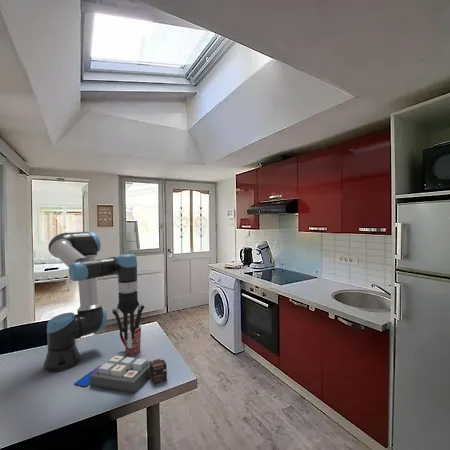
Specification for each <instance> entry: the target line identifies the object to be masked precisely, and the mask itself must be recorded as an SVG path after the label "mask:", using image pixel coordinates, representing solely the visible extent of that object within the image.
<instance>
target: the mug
mask: <svg viewBox="0 0 450 450" xmlns="http://www.w3.org/2000/svg"><path fill="white" fill-rule="evenodd" d="M134 326H135V323H134ZM128 330H130V324H128ZM141 335H142V325H141V324H140V323H139V328H138V329H136V330H135V331H134V338H133V339H132V348H128V347H127V340H125V339H124V333H123V332H120V331H119V337H120V340H121V342H122V344H123V345H124V348H125V355H126V356H128V357H130V356H135V355H138V354H140V352H141V337H142V336H141Z"/></svg>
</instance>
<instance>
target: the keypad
mask: <svg viewBox="0 0 450 450" xmlns="http://www.w3.org/2000/svg"><path fill="white" fill-rule="evenodd" d="M125 358H126V357H124V359H125ZM136 360H137V359H136V358H135V361H136ZM150 361H151V360H150ZM150 361H149V360H147V366H146V367H145V368H144V369H143V370H142V371H141V372H140V371H139V374H138V375H137V376H136V377H135V378H134V379H128V378H123V376H124V375H125V374H126V373H127V372H128V371H129V370H126V373H125V374H124V375H123V376H122V377H115V376H111V374H110V375H102V374H99V369H98V370H97V371H96V372H94V373H93V374H92V375H90V385H89V387H91V388H96V389H97V388H98V389H104V390H110V391H114V392H120V393H127V394H133V395H134V394H135V393H136V392H137V391H138V390H139V389H140V388H141V387H142V386H143V385H144V384H145V382H146V381H148V380H149V379H150ZM107 363H109V361H107ZM130 370H132V371H133V367H132V368H131V369H130Z"/></svg>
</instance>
